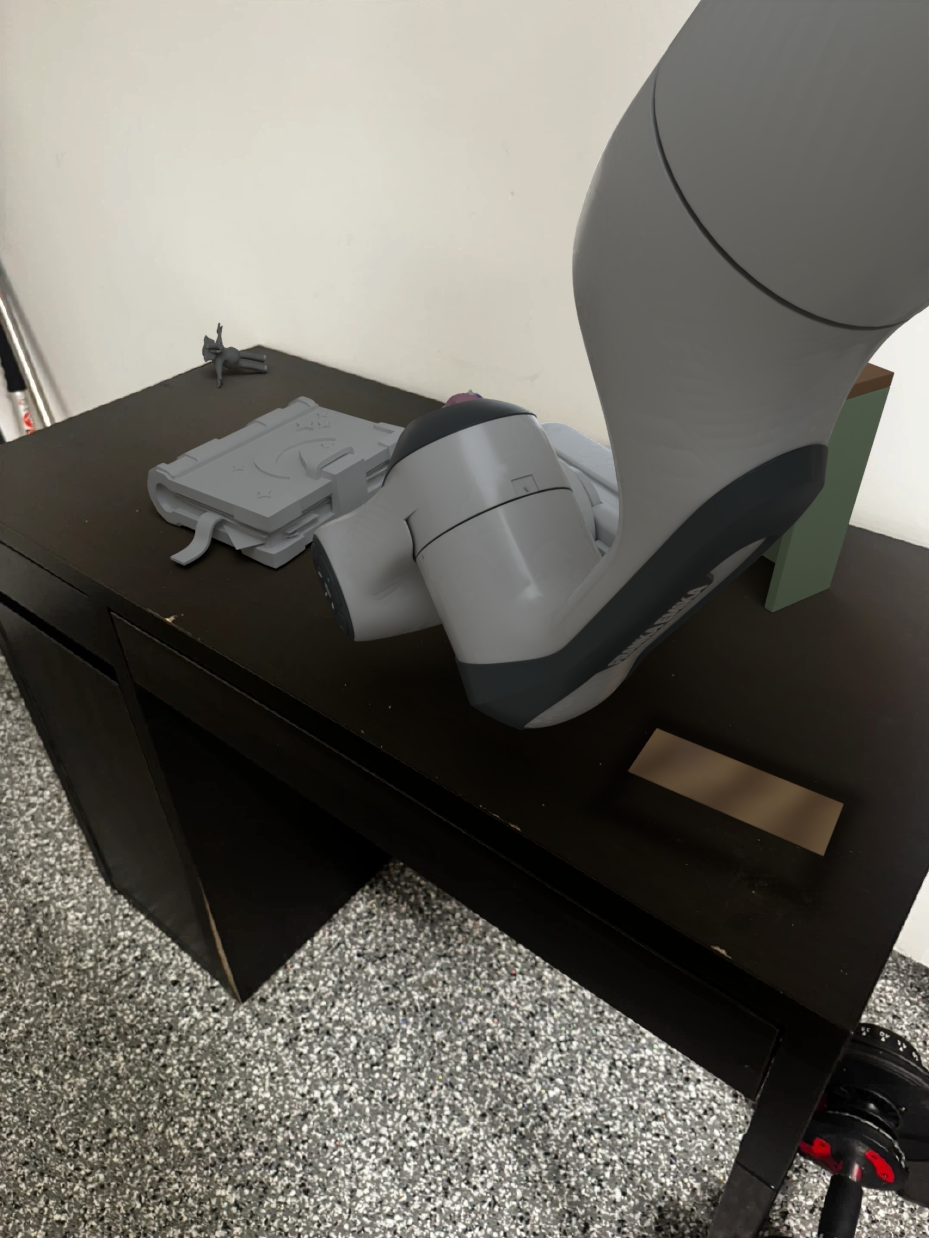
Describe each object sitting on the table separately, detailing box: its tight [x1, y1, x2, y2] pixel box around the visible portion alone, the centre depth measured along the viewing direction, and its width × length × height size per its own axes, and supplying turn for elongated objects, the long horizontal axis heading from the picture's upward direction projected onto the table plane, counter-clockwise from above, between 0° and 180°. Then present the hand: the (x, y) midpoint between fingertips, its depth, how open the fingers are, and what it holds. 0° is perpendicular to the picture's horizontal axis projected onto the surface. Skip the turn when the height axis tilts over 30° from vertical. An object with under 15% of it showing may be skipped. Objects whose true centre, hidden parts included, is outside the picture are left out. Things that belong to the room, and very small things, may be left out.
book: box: [146, 395, 406, 569], centre depth 93 cm, size 19×28×8 cm
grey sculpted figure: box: [201, 322, 268, 389], centre depth 125 cm, size 10×6×9 cm
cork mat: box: [627, 728, 844, 857], centre depth 62 cm, size 14×10×1 cm
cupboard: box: [762, 362, 895, 614], centre depth 82 cm, size 8×18×21 cm, turn 31°
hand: (688, 474), depth 67 cm, fingers closed on syrup box, 6 cm apart
